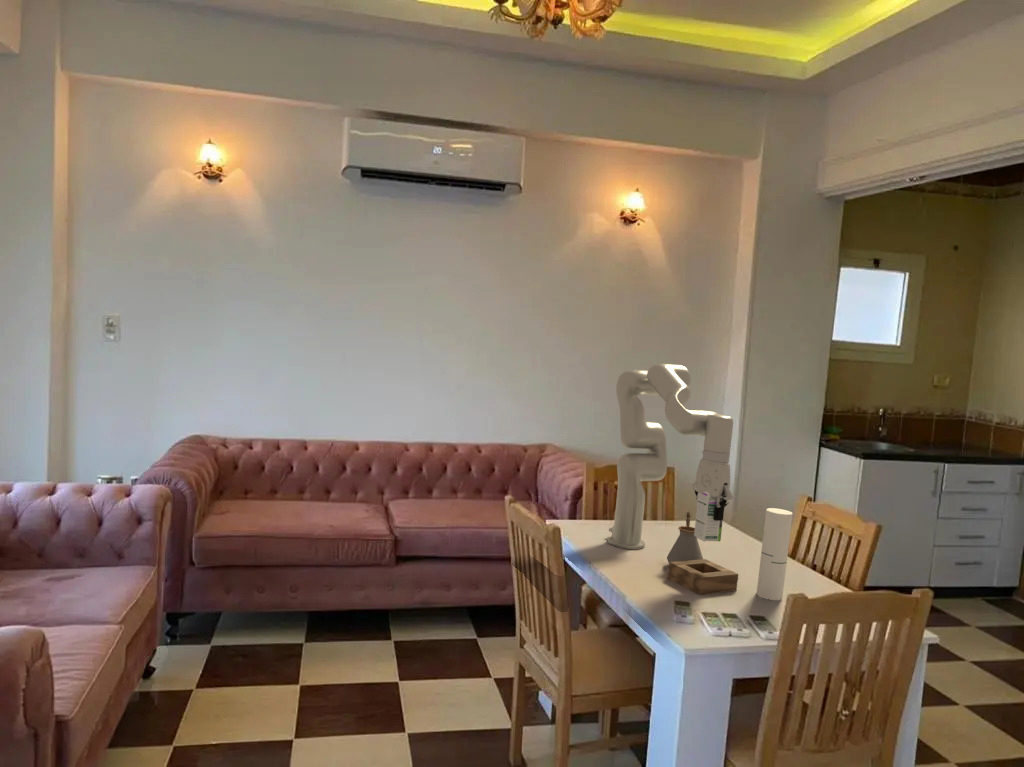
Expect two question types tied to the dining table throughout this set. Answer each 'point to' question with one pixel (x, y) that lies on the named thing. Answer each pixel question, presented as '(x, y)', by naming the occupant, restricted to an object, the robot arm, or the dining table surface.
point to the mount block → (703, 576)
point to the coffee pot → (685, 545)
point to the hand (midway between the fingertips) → (709, 516)
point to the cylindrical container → (774, 553)
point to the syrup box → (707, 519)
